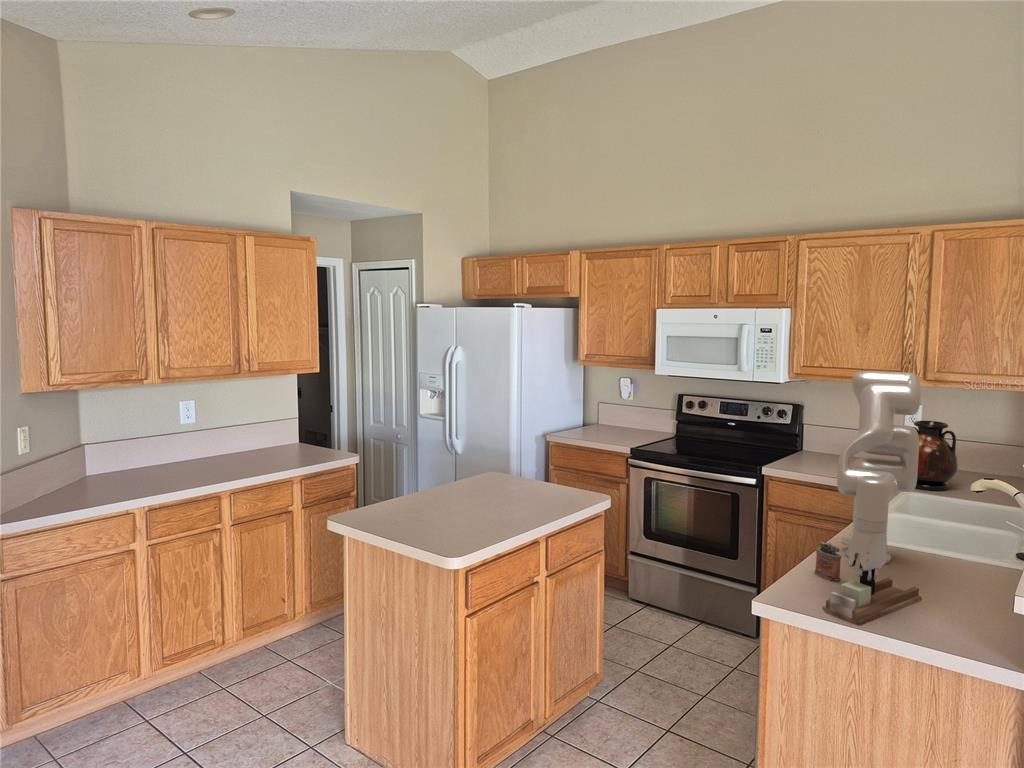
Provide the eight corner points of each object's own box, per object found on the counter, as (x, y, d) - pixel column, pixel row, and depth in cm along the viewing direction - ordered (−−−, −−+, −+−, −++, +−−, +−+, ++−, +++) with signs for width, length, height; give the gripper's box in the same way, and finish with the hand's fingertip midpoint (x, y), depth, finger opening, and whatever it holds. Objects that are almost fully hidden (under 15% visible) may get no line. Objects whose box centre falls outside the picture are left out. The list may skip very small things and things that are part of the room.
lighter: (812, 573, 205) (813, 540, 204) (820, 571, 206) (822, 538, 205) (834, 583, 197) (836, 549, 196) (843, 581, 199) (844, 547, 198)
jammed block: (840, 606, 179) (841, 584, 179) (851, 602, 182) (852, 580, 181) (858, 614, 175) (859, 591, 175) (870, 609, 178) (871, 587, 177)
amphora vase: (960, 485, 302) (964, 422, 299) (951, 496, 286) (956, 429, 282) (904, 477, 316) (908, 417, 313) (893, 487, 299) (897, 423, 296)
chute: (822, 610, 180) (823, 590, 179) (884, 587, 194) (885, 568, 194) (859, 625, 171) (860, 604, 171) (921, 600, 186) (922, 580, 185)
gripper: (873, 516, 186) (869, 582, 188) (839, 525, 178) (836, 594, 180) (901, 523, 179) (897, 591, 181) (867, 533, 172) (863, 604, 174)
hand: (866, 593), depth 181 cm, fingers closed
